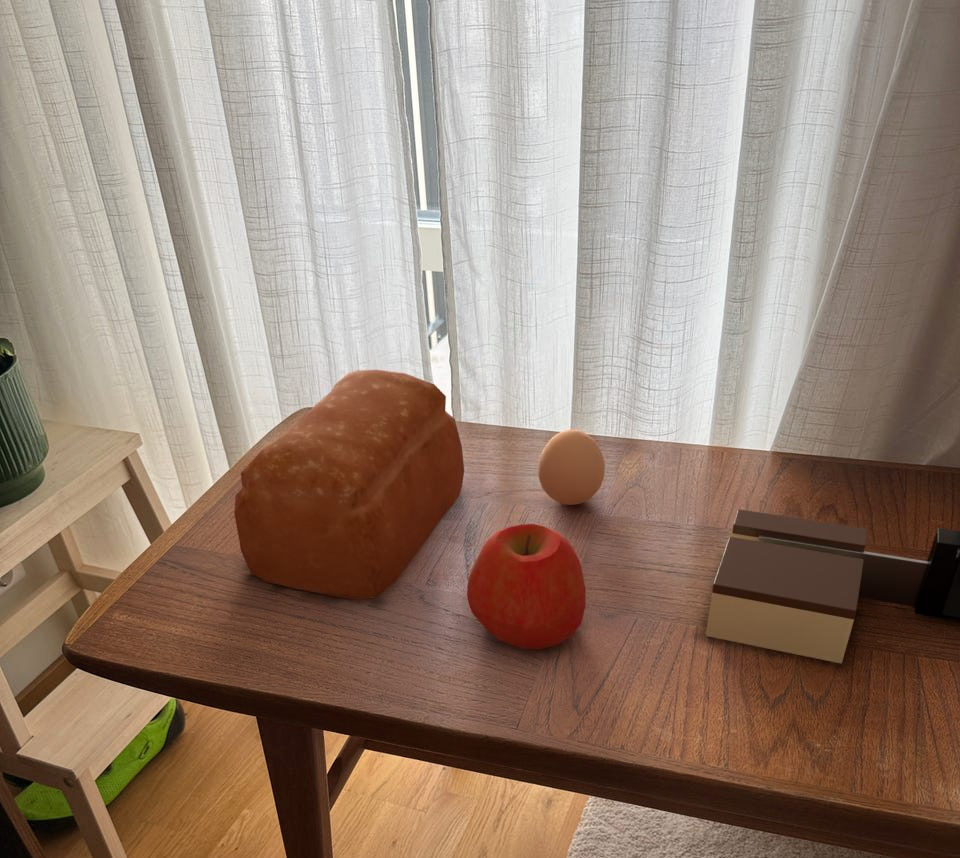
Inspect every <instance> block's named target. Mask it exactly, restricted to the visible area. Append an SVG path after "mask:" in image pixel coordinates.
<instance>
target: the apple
mask: <svg viewBox="0 0 960 858" xmlns="http://www.w3.org/2000/svg"><path fill="white" fill-rule="evenodd" d="M466 589H467V591H466V597H467V602H468V607H469V609H470V612H471V613H472V615H473V616H474V617H475V618H476V620H478V622H479V623H480V624H481V625H482V626H483V628H484V629H485V630H486V631H487V632H488V633H489V634H491V635H492V636H494V637H495V638H496V639H498V640H499V641H502V642H504V643H506V644H509V645H511V646H512V647H513V646H514V647H516V648H517V647H518V648H522V649H527V650H542V649H547V648H551V647H553V646H557V645H559V644H561V643H563V642H564V641H565V640H567V639H568V638H570V637H571V636H573V635H574V634H576V632H577V630H578V629H579V627H580V626H581V624H582V622H583V619H584V614H585V611H586V605H587V597H586V596H587V594H586V593H587V590H586V584H585V579H584V573H583V569H582V563H581V560H580V559H579V557H578V554H577V552H576V550H575V547H574V546H573V545H572V544H571V543H570V541H569V540H568V539H567V538H566V537H565V536H564V535H563V534H562V533H560V532H558V531H556V530H554V529H551V528H549V527H547V526H544V525H540V524H535V523H525V524H517V525H513V526H508V527H506V528H503V529H500V530H497V531H496V532H494V533H493V534H492V535H491V536H490V537H489V538H488V539H487V540H486V542H484V544H483V545H482V547H481V549H480V551H479V553H478V555H477V558H476V560H475V561H474V564H473V566H472V568H471V571H470V573H469V577H468V580H467V588H466Z"/></svg>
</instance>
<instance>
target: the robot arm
mask: <svg viewBox="0 0 960 858" xmlns="http://www.w3.org/2000/svg"><path fill="white" fill-rule="evenodd" d="M956 558H957V559H960V549H958V550H957V555H956ZM943 615H947V616H952V617H958V618H960V562H959V565H958V568H957V571H956V574H955V577H954V579H953V582H952V585H951V588H950V591H949V593H948V596H947V599H946V602H945V605H944V608H943Z"/></svg>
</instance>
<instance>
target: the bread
mask: <svg viewBox="0 0 960 858" xmlns="http://www.w3.org/2000/svg"><path fill="white" fill-rule="evenodd" d="M446 402H447V395H445V394H444V393H443V391H442V390H440V388H439V387H438V386H437V385H436V384H435V383H432V382H429V381H426V380H424V379H422V378H418V377H416V376H414V375H411V374H408V373H405V372H399V371H389V370H383V369H360V370H358V369H357V370H355V371H351V372H348V373H347V374H345V375H344V377H342V378H341V379H339V380H338V381H337V382H336V383H335V385H334V386H333V388H331V391H329V393H327V394H326V395H325V396H324V397H322V399H320V400H319V401H318V402H317V403H316V404H315V405H314V406H313V407H312V408H310V409H309V410H308V411H307V412H306V413H305V414H304V415H302V416H301V417H300V418H299V419H298V420H296V421H295V422H294V423H293V424H291V426H289V427H288V428H287V429H285V430H284V432H283V433H282V434H281V435H279V437H278V438H277V439H275V440H274V441H272V442H270V443H269V444H268V445H265V446H264V447H262V448H261V449H260V451H258V452H257V454H256V455H255V456H254V457H253V458H252V459H251V461H249V462H248V464H247V465H246V466H245V467H244V468H243V470H241V472H240V481H241V488H240V489H239V490H238V491H237V493H236V494H235V499H234V512H233V515H234V519H235V520H234V521H235V524H236V531H237V536H238V542H239V547H240V552H241V554H242V557H243V559H244V561H245V563H246V565H247V568H248V570H249V572H250V574H251V575H253V576H255V577H257V578H259V579H261V580H262V581H264V582H267V583H271V584H274V585H278V586H282V587H288V588H292V589H296V590H300V591H305V592H308V593H315V594H319V595H324V596H331V597H336V598H344V599H352V600H361V599H362V600H363V599H372V598H378V597H379V596H380V595H381V594H383V593H384V592H385V591H386V590H388V589H389V588H390V587H391V586H393V585H394V584H395V583H396V582H397V581H398V579H399V578H400V576H401V575H402V574H403V572H404V571H405V570H406V568H407V567H408V565H410V563H411V562H412V560H413V559H414V558H415V557H416V555H417V554H418V553H419V551H420V550H421V549H422V548H423V546H424V545H425V543H426V542H427V541H428V539H429V538H430V537H431V535H432V534H433V532H434V530H435V529H436V528H437V526H438V525H439V524H440V521H441V520H442V519H444V517H445V516H446V514H447V513H448V512H449V511H450V510H451V508H452V507H453V506H454V505H455V504H456V502H457V500H458V499H459V497H460V495H461V491H462V488H463V484H464V483H463V482H464V476H465V464H464V455H463V445H462V442H461V441H462V440H461V438H460V437H461V436H460V434H459V433H460V432H459V429H458V424H457V421H456V418H454V417H453V416H452V415H451V414H450V413H449V412H448V411H447V410H446V407H447V406H446V405H447V404H446Z"/></svg>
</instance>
